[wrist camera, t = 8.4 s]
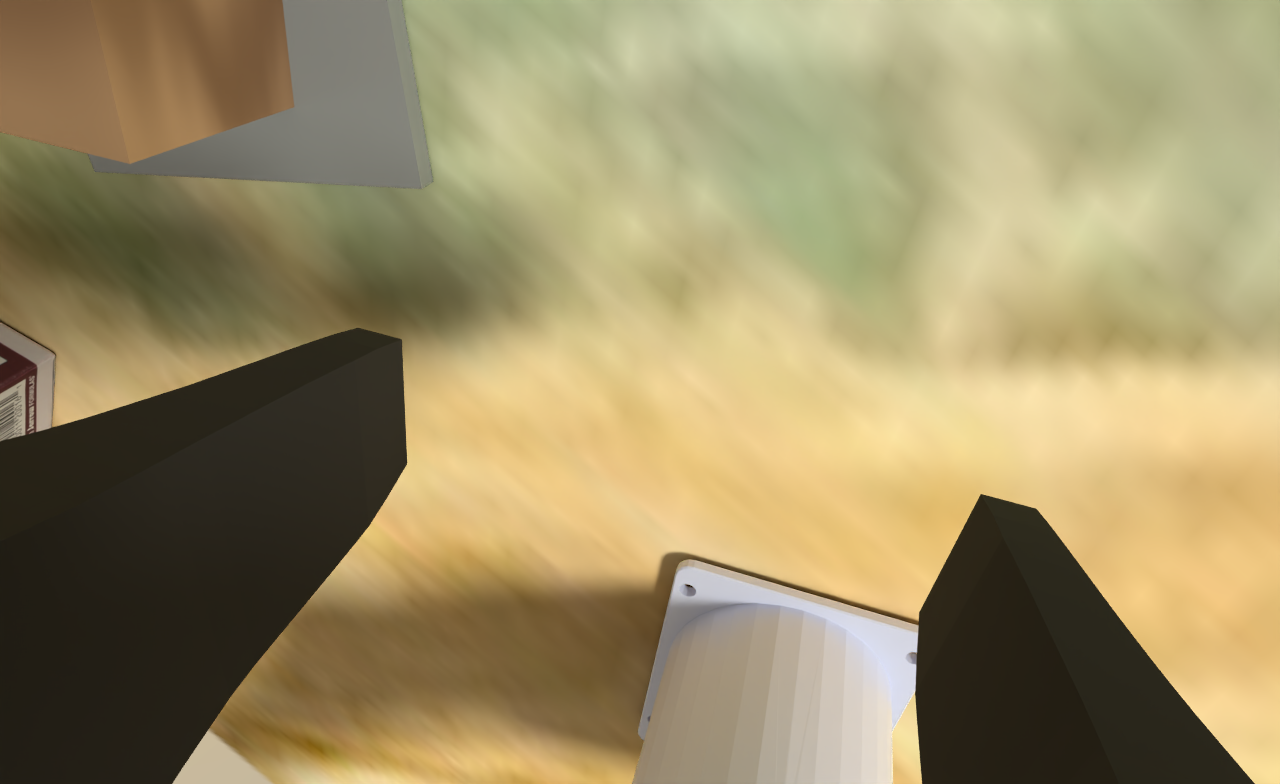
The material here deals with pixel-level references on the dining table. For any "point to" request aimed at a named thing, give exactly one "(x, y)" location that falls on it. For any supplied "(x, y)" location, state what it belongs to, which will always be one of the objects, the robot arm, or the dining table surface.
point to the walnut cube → (139, 71)
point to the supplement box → (24, 385)
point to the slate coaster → (323, 109)
